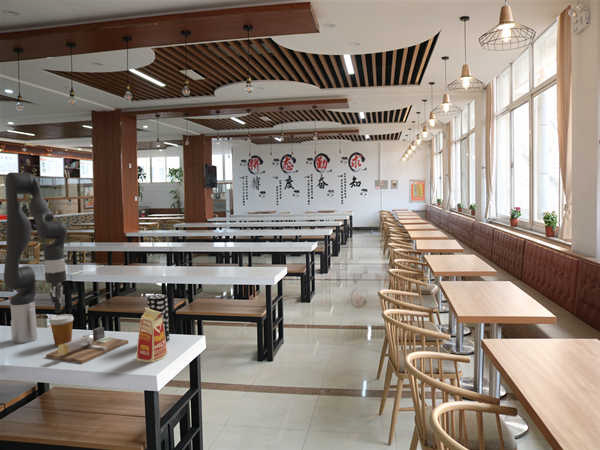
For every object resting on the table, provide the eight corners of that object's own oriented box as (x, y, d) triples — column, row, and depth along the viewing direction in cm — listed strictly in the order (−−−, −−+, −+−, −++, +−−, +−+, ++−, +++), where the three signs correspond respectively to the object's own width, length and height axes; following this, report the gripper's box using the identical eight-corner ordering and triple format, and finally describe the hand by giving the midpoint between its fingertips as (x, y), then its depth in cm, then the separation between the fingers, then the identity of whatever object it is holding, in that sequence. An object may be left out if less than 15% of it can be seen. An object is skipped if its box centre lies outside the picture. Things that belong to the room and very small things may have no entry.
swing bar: (88, 341, 190) (88, 333, 190) (95, 342, 189) (95, 334, 189) (57, 354, 177) (57, 345, 176) (65, 355, 175) (64, 346, 175)
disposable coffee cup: (76, 344, 195) (75, 317, 194) (52, 349, 190) (50, 321, 189) (73, 338, 203) (72, 312, 202) (49, 343, 197) (47, 316, 196)
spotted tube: (163, 345, 192) (161, 299, 190) (145, 344, 193) (143, 298, 192) (172, 338, 200) (170, 294, 198) (155, 337, 201) (153, 294, 200)
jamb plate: (46, 357, 181) (45, 342, 180) (93, 338, 203) (92, 325, 202) (83, 363, 173) (82, 348, 173) (128, 342, 195) (127, 329, 195)
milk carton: (136, 360, 175) (133, 310, 173) (151, 352, 184) (149, 304, 182) (155, 363, 172) (152, 312, 170) (170, 354, 181) (167, 305, 179)
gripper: (48, 268, 187) (51, 309, 188) (40, 273, 175) (44, 317, 176) (68, 266, 189) (71, 307, 191) (62, 272, 177) (65, 315, 178)
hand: (58, 311), depth 183 cm, fingers closed
